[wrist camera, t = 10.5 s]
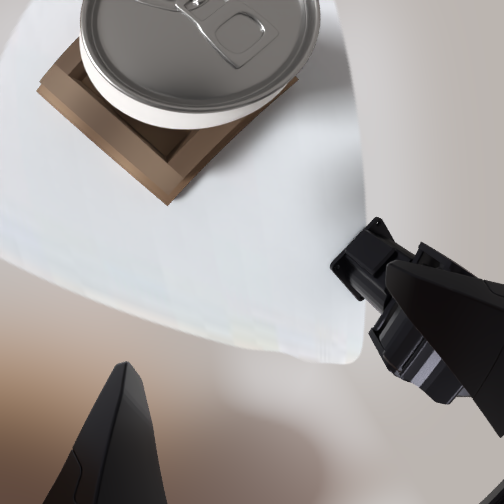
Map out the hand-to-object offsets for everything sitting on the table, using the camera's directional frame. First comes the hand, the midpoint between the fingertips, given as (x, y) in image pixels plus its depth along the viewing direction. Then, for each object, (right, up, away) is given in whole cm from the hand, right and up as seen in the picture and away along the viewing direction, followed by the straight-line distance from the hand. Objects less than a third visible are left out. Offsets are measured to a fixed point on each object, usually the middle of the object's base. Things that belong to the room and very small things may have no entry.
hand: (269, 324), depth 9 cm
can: (-5, +13, +6) cm, 15 cm away
